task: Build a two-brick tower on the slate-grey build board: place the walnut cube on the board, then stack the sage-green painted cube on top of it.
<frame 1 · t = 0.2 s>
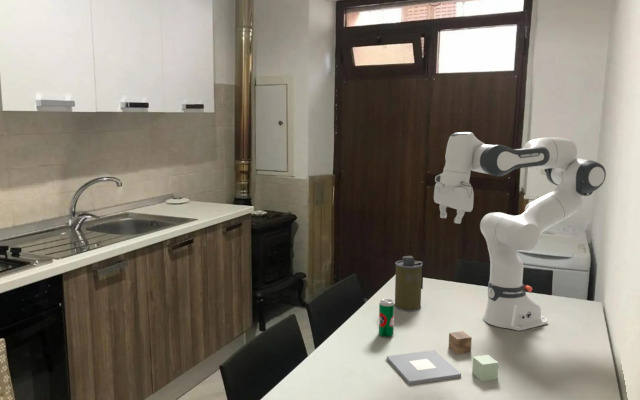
hand: (450, 220, 176), 38 cm above the table, tool pointing down, fingers open, 8 cm apart
canister: (408, 306, 203), on the table
sage brick: (484, 376, 148), on the table
soda can: (386, 335, 176), on the table
walnut brick: (459, 350, 165), on the table
build board: (422, 367, 153), on the table
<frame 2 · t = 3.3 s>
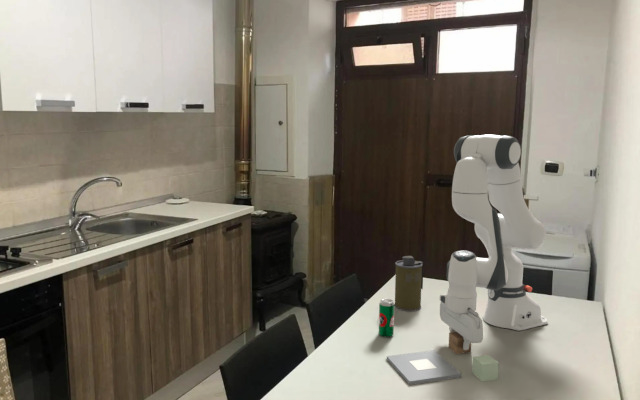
hand: (459, 344, 164), 2 cm above the table, tool pointing down, fingers closed on walnut brick, 5 cm apart
walnut brick: (459, 349, 165), on the table, touching gripper
everything else where it was.
when the fingers open (4 cm above the table, at t = 8.0 s): walnut brick stays where it is, resting on build board.
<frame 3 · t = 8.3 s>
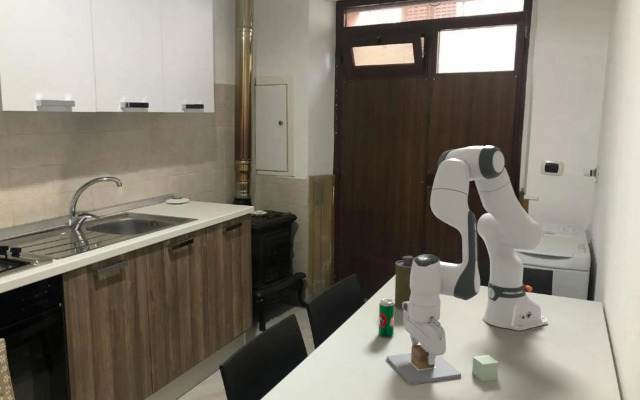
hand: (422, 356, 152), 4 cm above the table, tool pointing down, fingers open, 8 cm apart
walnut brick: (422, 364, 152), point 1 cm above the table, touching build board
everything else where it was.
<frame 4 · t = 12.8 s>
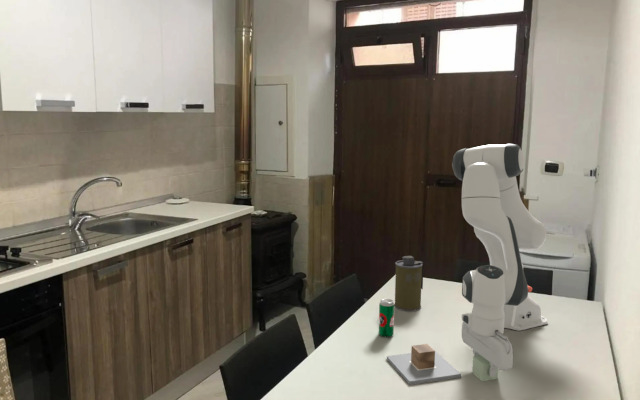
hand: (484, 370, 148), 2 cm above the table, tool pointing down, fingers closed on sage brick, 5 cm apart
sage brick: (484, 375, 148), on the table, touching gripper
everything else where it was.
when the fingers open (9 cm above the table, at t = 17.8 s): sage brick stays where it is, resting on walnut brick.
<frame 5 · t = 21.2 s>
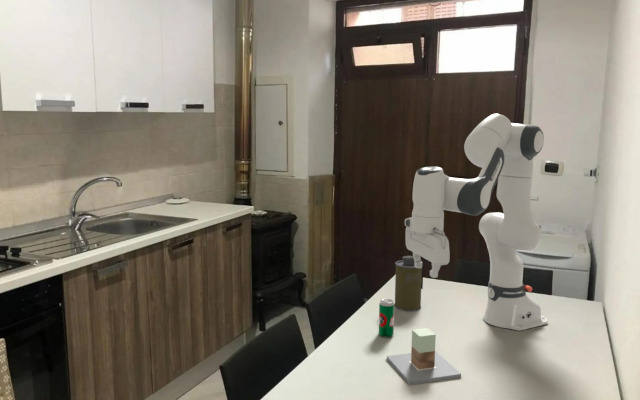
hand: (425, 272, 148), 29 cm above the table, tool pointing down, fingers open, 8 cm apart
sage brick: (423, 348, 152), point 6 cm above the table, touching walnut brick
walnut brick: (422, 364, 152), point 1 cm above the table, touching build board, sage brick
everything else where it was.
at the end: walnut brick inside the target area on the build board (0.0 cm from its centre), point 1.1 cm above the build board's base; sage brick 0.0 cm off-centre on the walnut brick, point 5.0 cm above the walnut brick's base; sage brick tilted 0° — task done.
